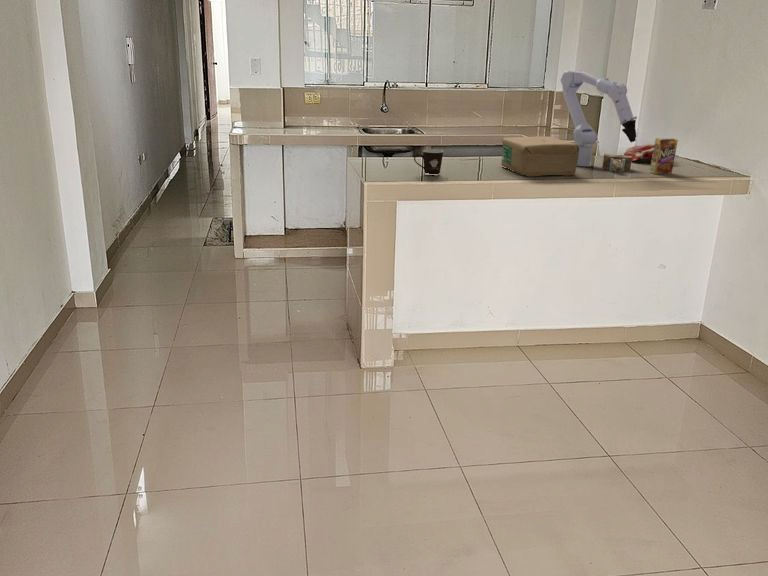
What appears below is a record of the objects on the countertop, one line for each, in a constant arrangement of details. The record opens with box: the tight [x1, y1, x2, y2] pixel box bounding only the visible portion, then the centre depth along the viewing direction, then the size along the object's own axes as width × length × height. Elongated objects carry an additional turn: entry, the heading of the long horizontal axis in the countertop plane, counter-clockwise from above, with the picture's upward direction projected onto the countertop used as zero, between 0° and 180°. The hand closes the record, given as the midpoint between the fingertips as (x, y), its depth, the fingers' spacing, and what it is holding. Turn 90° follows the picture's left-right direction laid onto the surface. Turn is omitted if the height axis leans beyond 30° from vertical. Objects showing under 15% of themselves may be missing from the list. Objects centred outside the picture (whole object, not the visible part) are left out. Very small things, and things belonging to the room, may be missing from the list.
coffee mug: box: [413, 149, 444, 174], centre depth 285 cm, size 12×9×10 cm
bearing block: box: [601, 153, 633, 172], centre depth 307 cm, size 12×6×6 cm, turn 74°
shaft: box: [612, 160, 624, 173], centre depth 301 cm, size 5×10×5 cm, turn 164°
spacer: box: [608, 158, 625, 173], centre depth 303 cm, size 6×2×5 cm, turn 74°
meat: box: [623, 143, 655, 162], centre depth 329 cm, size 21×21×10 cm
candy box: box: [649, 137, 679, 175], centre depth 298 cm, size 9×4×15 cm, turn 103°
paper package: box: [500, 135, 579, 177], centre depth 297 cm, size 27×26×14 cm
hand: (633, 139), depth 292 cm, fingers open, 7 cm apart
